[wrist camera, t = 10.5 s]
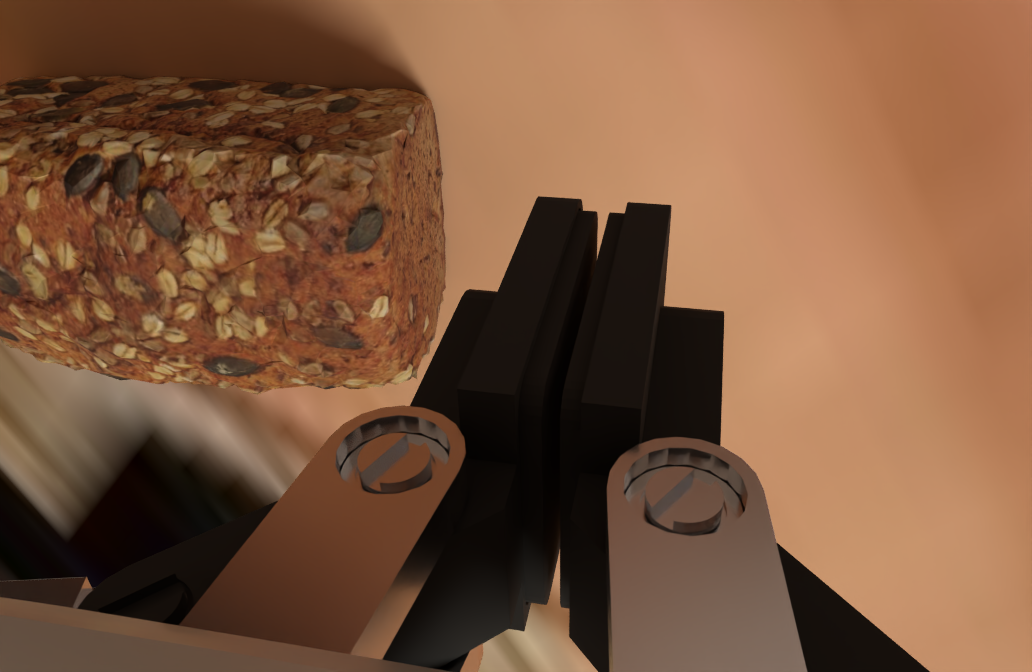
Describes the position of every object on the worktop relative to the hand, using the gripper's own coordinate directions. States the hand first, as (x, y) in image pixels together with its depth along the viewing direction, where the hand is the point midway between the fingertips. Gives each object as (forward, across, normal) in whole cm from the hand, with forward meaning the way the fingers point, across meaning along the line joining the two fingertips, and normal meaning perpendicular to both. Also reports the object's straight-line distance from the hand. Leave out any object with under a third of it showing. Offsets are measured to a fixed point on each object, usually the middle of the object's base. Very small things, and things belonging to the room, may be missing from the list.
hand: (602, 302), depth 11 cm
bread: (+23, +18, +10) cm, 31 cm away
